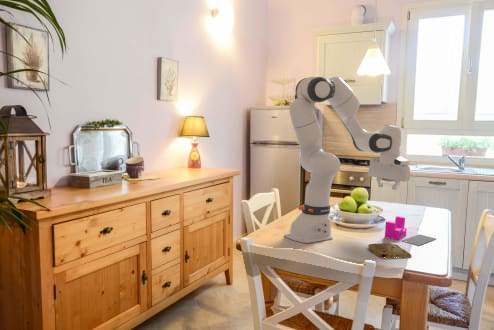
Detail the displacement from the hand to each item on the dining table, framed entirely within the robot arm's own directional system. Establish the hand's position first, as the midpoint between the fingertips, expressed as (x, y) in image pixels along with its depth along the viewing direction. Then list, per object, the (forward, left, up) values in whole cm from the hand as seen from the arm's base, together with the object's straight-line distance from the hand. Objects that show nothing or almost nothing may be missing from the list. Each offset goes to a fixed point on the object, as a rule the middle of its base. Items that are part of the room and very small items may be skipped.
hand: (387, 188), depth 191 cm
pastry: (-26, -18, -22) cm, 38 cm away
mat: (0, -18, -21) cm, 27 cm away
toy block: (-1, -7, -22) cm, 23 cm away
